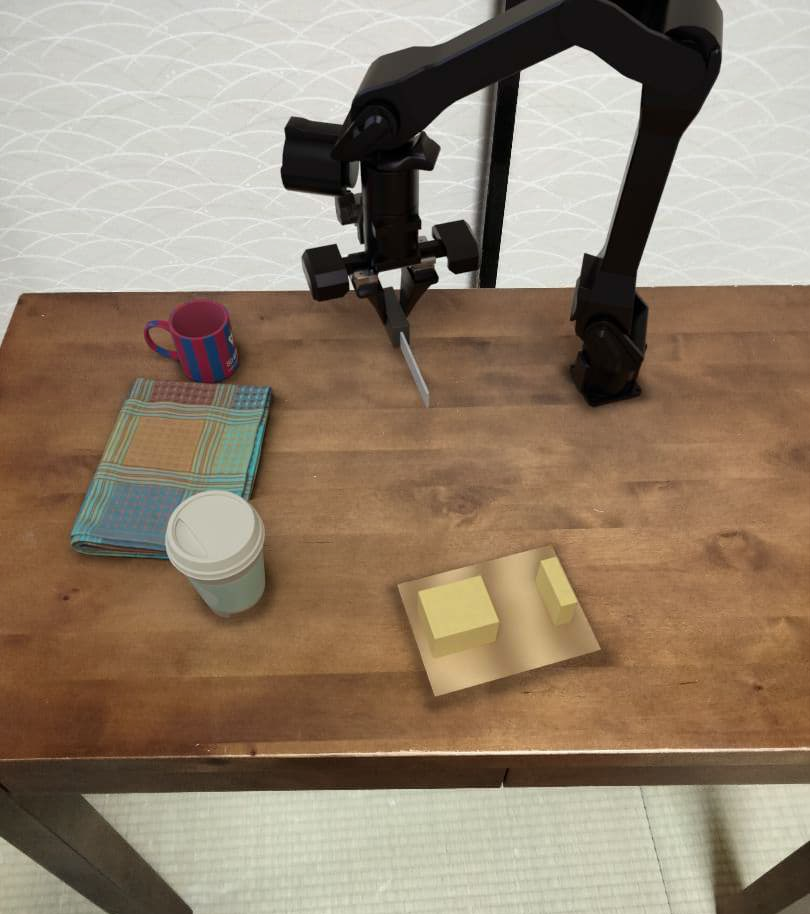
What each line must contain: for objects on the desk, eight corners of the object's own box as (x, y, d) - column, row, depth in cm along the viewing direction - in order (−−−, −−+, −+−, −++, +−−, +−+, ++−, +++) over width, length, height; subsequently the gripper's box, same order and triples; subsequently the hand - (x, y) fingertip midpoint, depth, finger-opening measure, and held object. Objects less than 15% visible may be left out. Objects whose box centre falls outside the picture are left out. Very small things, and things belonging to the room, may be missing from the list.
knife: (393, 306, 97) (392, 285, 95) (436, 406, 88) (437, 385, 86) (376, 309, 97) (376, 289, 95) (418, 409, 88) (418, 389, 85)
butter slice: (550, 578, 79) (556, 556, 75) (570, 622, 76) (578, 601, 73) (534, 582, 78) (540, 560, 75) (554, 627, 76) (561, 606, 72)
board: (549, 552, 82) (551, 544, 81) (598, 656, 76) (601, 649, 74) (397, 592, 80) (396, 584, 78) (434, 703, 73) (434, 696, 72)
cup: (231, 386, 95) (220, 342, 89) (148, 379, 95) (131, 334, 90) (244, 346, 98) (234, 301, 93) (164, 339, 99) (149, 294, 93)
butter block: (477, 596, 78) (480, 574, 74) (495, 641, 75) (499, 621, 72) (417, 612, 77) (417, 591, 73) (433, 659, 74) (434, 639, 71)
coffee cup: (193, 558, 82) (163, 488, 71) (279, 551, 82) (261, 481, 72) (189, 635, 77) (156, 572, 67) (280, 628, 77) (261, 564, 67)
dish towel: (69, 556, 82) (60, 542, 80) (132, 386, 95) (126, 370, 93) (237, 569, 81) (232, 555, 79) (278, 395, 94) (275, 380, 92)
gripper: (453, 140, 87) (447, 262, 100) (282, 170, 84) (299, 291, 97) (488, 200, 81) (478, 321, 94) (305, 235, 78) (320, 355, 91)
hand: (393, 320), depth 94 cm, fingers closed on knife, 2 cm apart
